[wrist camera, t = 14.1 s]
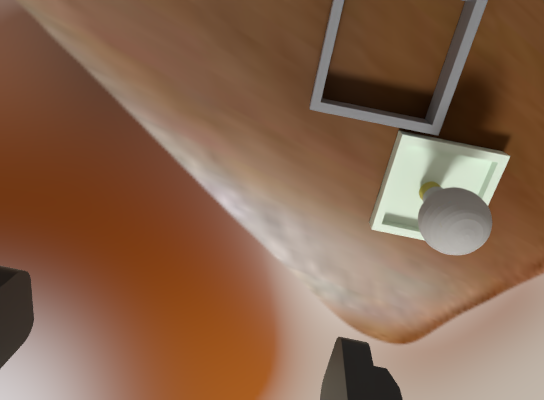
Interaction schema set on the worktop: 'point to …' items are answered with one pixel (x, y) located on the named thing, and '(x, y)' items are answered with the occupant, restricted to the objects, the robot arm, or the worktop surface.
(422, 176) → the tray
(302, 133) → the worktop surface
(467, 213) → the light bulb
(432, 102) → the case
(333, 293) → the worktop surface
